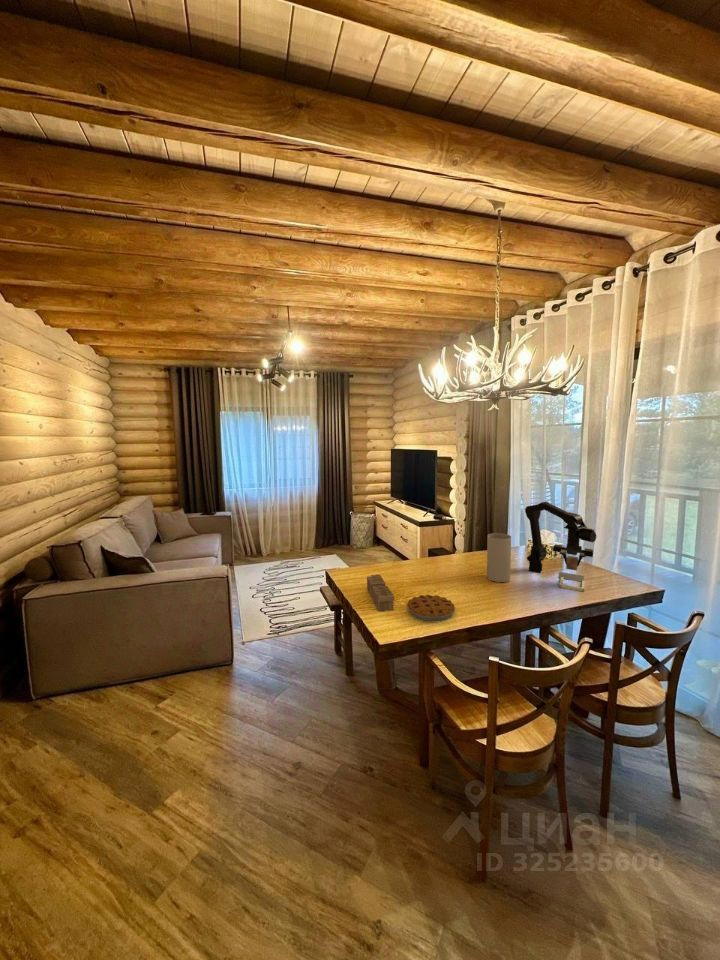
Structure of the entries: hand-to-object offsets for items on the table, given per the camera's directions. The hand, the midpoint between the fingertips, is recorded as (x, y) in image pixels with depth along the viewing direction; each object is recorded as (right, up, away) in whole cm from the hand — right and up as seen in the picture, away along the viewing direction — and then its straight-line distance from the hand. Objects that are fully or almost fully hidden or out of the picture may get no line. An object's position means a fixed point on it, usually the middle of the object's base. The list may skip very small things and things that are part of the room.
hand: (571, 565), depth 201 cm
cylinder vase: (-37, -10, +9) cm, 39 cm away
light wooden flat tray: (-1, -10, -2) cm, 10 cm away
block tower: (-106, -14, -14) cm, 108 cm away
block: (0, -2, 0) cm, 2 cm away
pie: (-83, -15, -29) cm, 89 cm away
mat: (+5, -9, +9) cm, 13 cm away
